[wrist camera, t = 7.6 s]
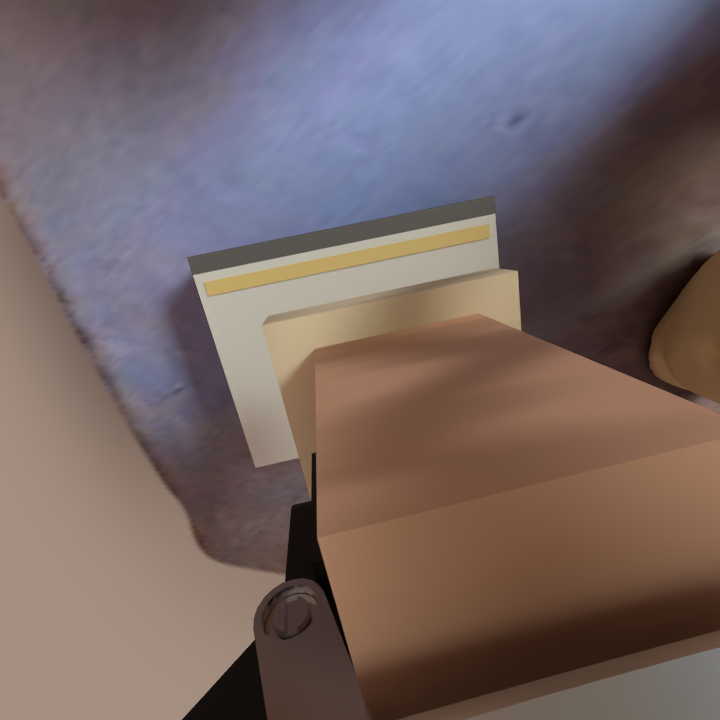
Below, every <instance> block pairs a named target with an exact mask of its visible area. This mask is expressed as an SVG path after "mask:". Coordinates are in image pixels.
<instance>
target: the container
mask: <svg viewBox="0 0 720 720" xmlns="http://www.w3.org/2000/svg"><path fill="white" fill-rule="evenodd" d="M648 359H649V362H650V365H649V368H650V369H651V370H652V371H653V375H655V376H656V377H657V378H659V379H660V380H662V381H664V382H666V383H669V384H671V385H674V386H677V387H679V388H682V389H685V390H690V391H691V392H693V393H695V394H697V395H699V396H702V397H705V398H707V399H710V400H712V401H715V402H717V403H720V251H718V252H717V253H716V254H714V255H713V256H712V257H710V258H709V259H708V260H707V261H706V262H705V263H704V264H703V265H702V267H701V268H700V269H699V270H698V272H697V273H696V274H695V275H694V276H693V277H692V278H691V279H690V281H689V282H688V283H687V285H686V286H685V287H684V289H683V290H682V291H681V293H680V294H679V296H678V297H677V299H676V300H675V302H674V303H673V304H672V306H671V307H670V308H669V310H668V311H667V312H666V313H665V315H664V316H663V318H662V319H661V320H660V322H659V323H658V324H657V326H656V328H655V329H654V332H653V335H652V338H651V346H650V350H649V357H648Z"/></svg>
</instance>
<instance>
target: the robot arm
mask: <svg viewBox="0 0 720 720" xmlns="http://www.w3.org/2000/svg"><path fill="white" fill-rule="evenodd" d="M254 636H255V640H254V641H253V642H252V644H251V645H250V646H249V647H248V648H247V649H246V650H245V651H244V652H243V653H242V654H241V656H240V657H239V658H238V659H237V660H236V661H235V662H234V663H233V664H232V666H231V667H230V668H229V669H228V670H227V671H226V672H225V673H224V675H222V676H221V678H220V679H219V680H218V681H217V682H216V683H215V684H214V685H213V686H212V687H211V689H210V690H209V691H208V692H207V693H206V694H205V695H204V696H203V697H202V698H201V700H200V701H199V702H198V703H197V704H196V705H195V706H194V707H193V708H192V709H191V711H190V712H189V713H188V714H187V715H186V716H185V717H184V718H183V719H182V720H374V719H373V716H372V714H371V711H370V709H369V706H368V704H367V703H364V701H363V697H362V694H361V690H360V687H359V683H358V680H357V676H356V673H355V669H354V666H353V662H352V659H351V655H350V652H349V648H348V645H347V641H346V638H345V634H344V631H343V627H342V624H341V620H340V617H339V613H338V610H337V606H336V602H335V599H334V595H333V592H332V588H331V585H330V581H329V578H328V574H327V571H326V567H325V564H324V560H323V557H322V553H321V550H320V546H319V543H318V539H317V481H316V452H315V453H312V476H311V501H308V502H304V503H300V504H296V505H293V506H292V509H291V518H290V530H289V542H288V554H287V566H286V578H285V582H284V583H282V584H280V585H279V586H277V587H276V588H274V589H273V590H272V591H270V592H269V593H268V594H267V595H266V596H265V597H264V599H263V600H262V602H261V603H260V605H259V606H258V608H257V611H256V614H255V617H254ZM398 720H720V630H718V631H715V632H711V633H707V634H703V635H700V636H696V637H692V638H689V639H685V640H681V641H677V642H674V643H670V644H666V645H663V646H659V647H655V648H652V649H648V650H645V651H641V652H637V653H634V654H630V655H626V656H623V657H619V658H615V659H612V660H608V661H604V662H601V663H597V664H594V665H590V666H586V667H583V668H579V669H576V670H572V671H568V672H565V673H561V674H557V675H554V676H550V677H547V678H543V679H539V680H536V681H532V682H529V683H525V684H521V685H518V686H514V687H511V688H507V689H504V690H500V691H497V692H493V693H490V694H486V695H483V696H479V697H475V698H472V699H468V700H465V701H461V702H458V703H454V704H451V705H447V706H444V707H440V708H437V709H433V710H429V711H426V712H422V713H419V714H415V715H412V716H408V717H405V718H401V719H398Z"/></svg>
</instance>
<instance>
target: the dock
mask: <svg viewBox="0 0 720 720" xmlns="http://www.w3.org/2000/svg"><path fill="white" fill-rule="evenodd" d="M187 259H188V262H189V265H190V268H191V271H192V274H193V277H194V280H195V283H196V286H197V289H198V293H199V296H200V299H201V302H202V305H203V308H204V311H205V314H206V317H207V320H208V323H209V326H210V329H211V333H212V336H213V339H214V342H215V345H216V348H217V351H218V354H219V357H220V360H221V363H222V366H223V369H224V372H225V376H226V379H227V382H228V385H229V388H230V391H231V394H232V397H233V400H234V403H235V406H236V409H237V412H238V416H239V419H240V422H241V425H242V428H243V431H244V434H245V437H246V440H247V443H248V446H249V449H250V452H251V455H252V459H253V462H254V465H255V468H258V467H262V466H266V465H270V464H275V463H279V462H283V461H288V460H292V459H296V458H299V456H298V453H297V449H296V446H295V442H294V438H293V435H292V431H291V428H290V424H289V421H288V417H287V413H286V410H285V406H284V403H283V399H282V396H281V392H280V388H279V385H278V381H277V378H276V374H275V371H274V367H273V363H272V360H271V356H270V353H269V349H268V346H267V342H266V338H265V335H264V331H263V328H262V324H263V323H264V321H265V320H266V318H267V317H268V316H270V315H274V314H279V313H284V312H289V311H293V310H298V309H303V308H308V307H312V306H317V305H322V304H326V303H331V302H336V301H341V300H345V299H350V298H355V297H360V296H364V295H369V294H374V293H378V292H383V291H388V290H393V289H397V288H402V287H407V286H412V285H416V284H421V283H426V282H430V281H435V280H440V279H445V278H449V277H454V276H459V275H464V274H468V273H473V272H478V271H482V270H487V269H492V268H499V257H498V243H497V230H496V216H495V203H494V196H490V197H485V198H480V199H475V200H470V201H465V202H460V203H455V204H450V205H445V206H440V207H435V208H430V209H425V210H420V211H415V212H410V213H405V214H400V215H395V216H391V217H386V218H381V219H376V220H371V221H366V222H361V223H356V224H351V225H346V226H341V227H336V228H331V229H326V230H321V231H316V232H311V233H306V234H301V235H296V236H291V237H286V238H281V239H276V240H271V241H266V242H261V243H256V244H251V245H246V246H241V247H236V248H231V249H226V250H221V251H216V252H211V253H206V254H201V255H196V256H191V257H187Z"/></svg>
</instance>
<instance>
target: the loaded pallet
mask: <svg viewBox="0 0 720 720" xmlns="http://www.w3.org/2000/svg"><path fill="white" fill-rule="evenodd" d="M262 328H263V331H264V335H265V338H266V342H267V346H268V349H269V353H270V356H271V360H272V363H273V367H274V371H275V374H276V378H277V381H278V385H279V388H280V392H281V396H282V399H283V403H284V406H285V410H286V413H287V417H288V421H289V424H290V428H291V431H292V435H293V438H294V442H295V446H296V449H297V453H298V456H299V460H300V463H301V467H302V471H303V474H304V478H305V481H306V485H307V488H308V492H309V495H310V499H311V476H312V453H315V452H316V481H317V539H318V543H319V546H320V550H321V553H322V557H323V560H324V564H325V567H326V571H327V574H328V578H329V581H330V585H331V588H332V592H333V595H334V599H335V602H336V606H337V610H338V613H339V617H340V620H341V624H342V627H343V631H344V634H345V638H346V641H347V645H348V648H349V652H350V655H351V659H352V662H353V666H354V669H355V673H356V676H357V680H358V683H359V687H360V690H361V694H362V697H363V701H364V703H367V704H368V706H369V709H370V711H371V714H372V716H373V719H374V720H398V719H401V718H405V717H408V716H412V715H415V714H419V713H422V712H426V711H429V710H433V709H437V708H440V707H444V706H447V705H451V704H454V703H458V702H461V701H465V700H468V699H472V698H475V697H479V696H483V695H486V694H490V693H493V692H497V691H500V690H504V689H507V688H511V687H514V686H518V685H521V684H525V683H529V682H532V681H536V680H539V679H543V678H547V677H550V676H554V675H557V674H561V673H565V672H568V671H572V670H576V669H579V668H583V667H586V666H590V665H594V664H597V663H601V662H604V661H608V660H612V659H615V658H619V657H623V656H626V655H630V654H634V653H637V652H641V651H645V650H648V649H652V648H655V647H659V646H663V645H666V644H670V643H674V642H677V641H681V640H685V639H689V638H692V637H696V636H700V635H703V634H707V633H711V632H715V631H718V630H720V414H719V413H717V412H715V411H712V410H710V409H707V408H705V407H703V406H700V405H698V404H695V403H693V402H691V401H688V400H686V399H683V398H681V397H679V396H676V395H674V394H671V393H669V392H667V391H664V390H662V389H659V388H657V387H655V386H652V385H650V384H647V383H645V382H643V381H640V380H638V379H635V378H633V377H631V376H628V375H626V374H623V373H621V372H619V371H616V370H614V369H611V368H609V367H607V366H604V365H602V364H599V363H597V362H595V361H592V360H590V359H587V358H585V357H583V356H580V355H578V354H575V353H573V352H571V351H568V350H566V349H563V348H561V347H558V346H556V345H554V344H551V343H549V342H546V341H544V340H542V339H539V338H537V337H534V336H532V335H530V334H527V333H525V332H522V331H521V316H520V299H519V282H518V271H514V270H507V269H499V268H492V269H487V270H482V271H478V272H473V273H468V274H464V275H459V276H454V277H449V278H445V279H440V280H435V281H430V282H426V283H421V284H416V285H412V286H407V287H402V288H397V289H393V290H388V291H383V292H378V293H374V294H369V295H364V296H360V297H355V298H350V299H345V300H341V301H336V302H331V303H326V304H322V305H317V306H312V307H308V308H303V309H298V310H293V311H289V312H284V313H279V314H274V315H270V316H268V317H267V318H266V320H265V321H264V323H263V324H262Z"/></svg>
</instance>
